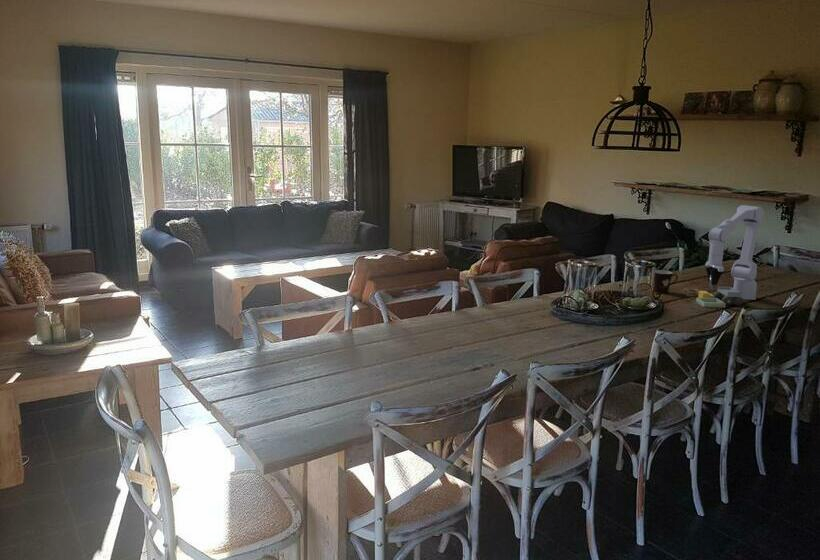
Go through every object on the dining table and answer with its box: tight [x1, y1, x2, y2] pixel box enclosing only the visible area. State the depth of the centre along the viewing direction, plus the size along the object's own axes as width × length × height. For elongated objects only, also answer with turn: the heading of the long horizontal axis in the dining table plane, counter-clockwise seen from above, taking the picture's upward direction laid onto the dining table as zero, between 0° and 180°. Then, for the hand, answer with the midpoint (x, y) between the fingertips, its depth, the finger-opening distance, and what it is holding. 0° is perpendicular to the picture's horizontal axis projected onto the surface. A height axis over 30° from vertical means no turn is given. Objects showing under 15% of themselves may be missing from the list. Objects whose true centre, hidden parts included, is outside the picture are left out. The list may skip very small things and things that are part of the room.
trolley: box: [713, 286, 744, 307], centre depth 304 cm, size 9×12×6 cm
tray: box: [695, 297, 727, 309], centre depth 300 cm, size 10×10×2 cm
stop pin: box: [707, 275, 716, 292], centre depth 298 cm, size 3×3×7 cm
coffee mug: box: [653, 269, 679, 294], centre depth 323 cm, size 12×9×10 cm
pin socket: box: [682, 288, 701, 298], centre depth 319 cm, size 7×7×2 cm
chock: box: [697, 290, 714, 298], centre depth 309 cm, size 5×5×4 cm
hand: (712, 284), depth 298 cm, fingers closed on stop pin, 3 cm apart
